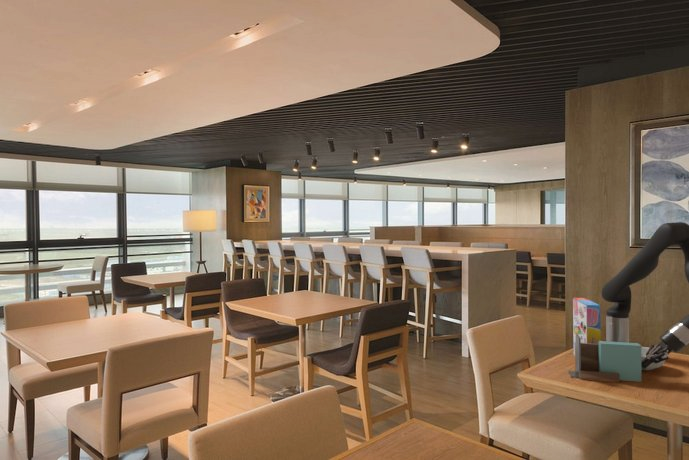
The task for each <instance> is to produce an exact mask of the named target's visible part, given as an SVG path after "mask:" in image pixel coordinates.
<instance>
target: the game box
mask: <svg viewBox="0 0 689 460" xmlns="http://www.w3.org/2000/svg"><path fill="white" fill-rule="evenodd" d="M601 313H602V312H601V304H598V303H596V302H594V301H592V300H590V299H588V298H586V297H573V298H572V319H573V320H572V324H573V327H572V331H573V333H572V334H573V335H572V337H573V338H572V339H573V340H572V341H573V356H574V357H575V343H576V334H578V335H579V337H580V338H581V343H591V344H599V341H602V340H601V339H602V337H601V336H602V334H601V333H602V331H601V326H602V325H601V324H602V323H601V322H602V321H601V319H602V318H601Z"/></svg>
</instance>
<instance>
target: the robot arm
mask: <svg viewBox="0 0 689 460" xmlns="http://www.w3.org/2000/svg"><path fill="white" fill-rule="evenodd" d="M671 246H679V247H680V249H681V251H682V253H683V256H684V276H685V279H686V281H687V283H688V284H689V224H688V223H686V222H683V221H681V222H680V221H677V222H665V223H663V224H662V225H661V224H660V226H658V228H657V229H656V230H655V231H654V233H653V234H652V236H651V237H650V238H649V240H647V243H645V245H644V246H643V247H642V248H641V249H639V251H638V252H637V253H636V254H635V255H633V256H632V258H631V259H630V260H629V262H627V264H626V265H625V266H624V267H623V268H622V269H621V270H620V271H618V273H617V274H616V275H615V276H614V277H612V278H611V279H610V280H609V281H607V282H606V283H605V284H604V285H603V287H602V289H601V297H602V298H603V300H604V301H606V302H608V303H614V304H613V305H612V306H610V307H608V308H607V309H606V311H605V312H606V313H605V319H606V320H605V326H606V329H605V331H606V332H605V333H606V335H605V336H606V337H605V340H606V341H607V342H625V343H630V313H631V307H632V289H631V287H630V286H631V285H633V284H636V283H637V282H640V281H642V280H644V279H646V278H647V277H649V275H650V274H651V273H653V272H654V271H655V270H656V269H657V267H658V265H659V261H660V260H659V259H660V256H661V254H662V253H663V252H664V251H665V250H667V249H668V248H669V247H671ZM659 340H661V341H660V342H659V343H657V344H656V345H654V344H651V346H649V347H648V348H649V350H648V351H647V353H646V358H645V359H644V360H643V361H641V367H642V368H643V369H645V368H646V367H648V366H649V365H650V364H651V363H655V364H656V363H659V362H662V361H664V360H665V361H666V360H669V358H670V357H669V356H668V355H669V354H671V353H672V351H673V352H674V353H679V352H680V351H681V350H682V349H683V348H686V346H687V345H688V344H689V314H688V315H685V316H684V317H683V319H681V320H680V321H678V322H677V323H675V324H673V326H671V327H670V328H669V329H667V331H665V332H664V333H663V334H661V335H660V336H659ZM655 354H656V355H655Z"/></svg>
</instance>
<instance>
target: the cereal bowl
mask: <svg viewBox="0 0 689 460" xmlns="http://www.w3.org/2000/svg"><path fill="white" fill-rule="evenodd" d="M649 348H650V347H647V346H641V361H643V360H644V359H645V358H646V353H647V351H648V350H649ZM655 355H656V354H655ZM665 362H666V360H664V361H662V362H659V363H656V364H655V363H651V364H650V365H649V366H648V367H646V368H645V369H643V368H642V367H641V371H652V370H655V369H658V368H661V367H662V366H664V364H665Z"/></svg>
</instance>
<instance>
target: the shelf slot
mask: <svg viewBox="0 0 689 460" xmlns="http://www.w3.org/2000/svg"><path fill="white" fill-rule="evenodd" d="M574 365H575V367H574V369H575V370H574V371H576V343H575V356H574ZM578 379H579V380H585V381H586V380H588V381H589V380H590V381H601V382H611V383H612V382H613V383H620V381H621V380H620V375H619V373H608V372H599V344H591V343H581V370H579V378H578Z"/></svg>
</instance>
